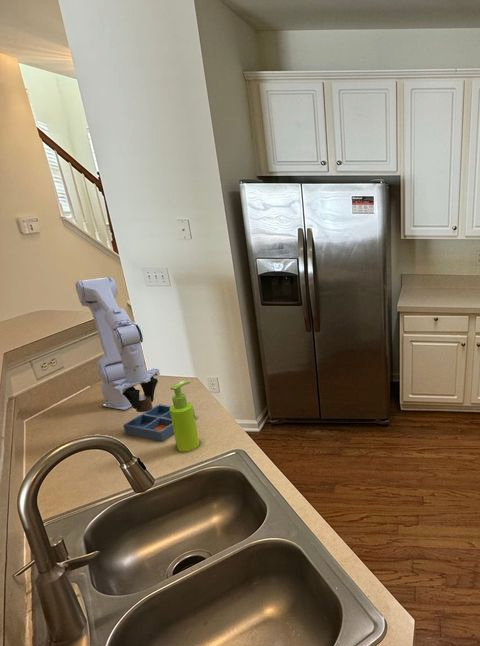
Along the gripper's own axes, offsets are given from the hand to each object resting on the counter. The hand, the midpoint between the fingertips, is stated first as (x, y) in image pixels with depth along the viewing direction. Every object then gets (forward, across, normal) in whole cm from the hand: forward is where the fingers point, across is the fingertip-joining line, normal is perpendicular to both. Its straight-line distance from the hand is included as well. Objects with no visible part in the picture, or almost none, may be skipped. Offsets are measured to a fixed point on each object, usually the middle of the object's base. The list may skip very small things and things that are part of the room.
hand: (143, 404), depth 133 cm
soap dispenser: (+9, -4, -18) cm, 21 cm away
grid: (+8, +2, -2) cm, 9 cm away
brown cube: (+1, 0, 0) cm, 1 cm away
